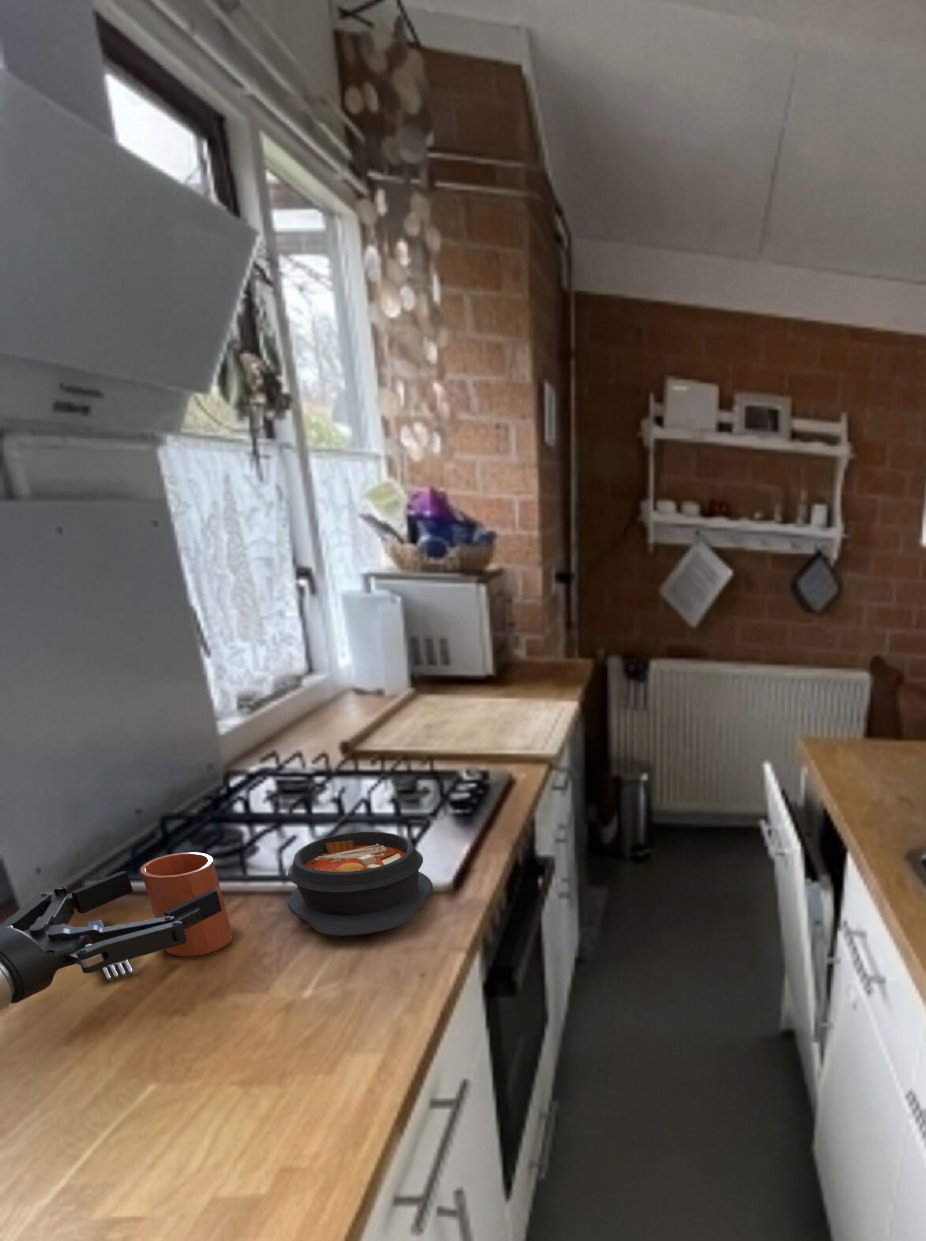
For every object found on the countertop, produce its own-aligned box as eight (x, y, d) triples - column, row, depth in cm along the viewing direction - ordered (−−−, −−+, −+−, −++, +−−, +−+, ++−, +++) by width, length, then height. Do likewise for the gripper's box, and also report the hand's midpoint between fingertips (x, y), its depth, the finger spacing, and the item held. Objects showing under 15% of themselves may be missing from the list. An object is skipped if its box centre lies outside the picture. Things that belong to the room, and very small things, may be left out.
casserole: (290, 879, 129) (278, 826, 125) (424, 862, 137) (416, 812, 133) (290, 958, 109) (276, 899, 106) (446, 934, 117) (438, 877, 113)
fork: (83, 930, 113) (80, 923, 112) (107, 924, 114) (105, 918, 114) (107, 981, 103) (105, 974, 102) (134, 974, 104) (132, 967, 104)
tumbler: (177, 930, 114) (154, 853, 109) (240, 926, 116) (220, 851, 111) (155, 958, 108) (130, 878, 103) (222, 954, 109) (200, 875, 104)
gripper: (-89, 982, 93) (101, 900, 111) (94, 1030, 87) (262, 935, 106) (-118, 920, 89) (83, 846, 108) (71, 966, 84) (248, 880, 102)
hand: (172, 890), depth 107 cm, fingers open, 13 cm apart
